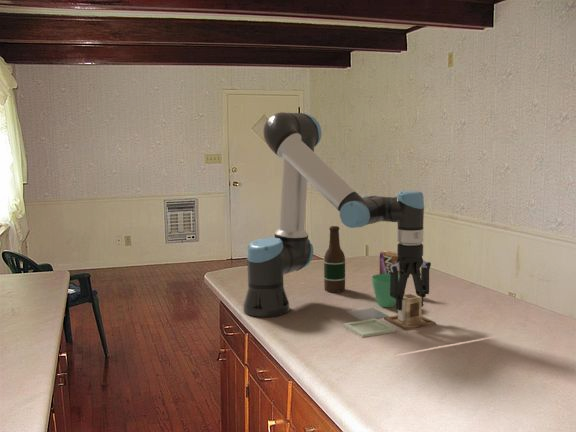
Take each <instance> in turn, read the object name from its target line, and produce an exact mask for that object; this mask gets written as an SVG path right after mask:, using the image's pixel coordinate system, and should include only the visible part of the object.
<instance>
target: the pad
mask: <svg viewBox="0 0 576 432" xmlns="http://www.w3.org/2000/svg"><path fill="white" fill-rule="evenodd" d="M345 312H346V313H347V314H349V315H350V316H351V317H354V318H356V320H358V321H362V320H369V319H375V318H376V319H378V320H379V319H384V317H388V316H389V315H388V314H386V313H384V312H382V311H380V310H378V309H376V308H375V307H370V308H364V309H357V310H351V311H345Z"/></svg>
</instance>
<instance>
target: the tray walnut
mask: <svg viewBox="0 0 576 432" xmlns="http://www.w3.org/2000/svg"><path fill="white" fill-rule="evenodd" d="M383 320H384V321H385V322H388V323H390V324H392V325H393V326H395V327H398V328H399V329H401V330H404V331H409V330H414V329H420V328H426V327H432V326H436V325H437V323H436V321H433V320H432V319H428V318H427V317H425V316H423V315H421V323H420V324H414V325H408V326H407V325H405V324H403V323H401V322H399V321H398V314H395V315H388V317H384V318H383Z"/></svg>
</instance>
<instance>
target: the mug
mask: <svg viewBox="0 0 576 432" xmlns="http://www.w3.org/2000/svg"><path fill="white" fill-rule="evenodd" d="M399 277H400V276H399V274H398V281H399ZM371 281H372V287H373V293H374V295H375V299H376V302H377V304H378V306H379V307H382V308H393V307H394V306H396V299H395V298H393V297H391V296H390V274H380V273H379V274H374V275H373V276H371Z"/></svg>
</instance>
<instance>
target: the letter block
mask: <svg viewBox="0 0 576 432" xmlns="http://www.w3.org/2000/svg"><path fill="white" fill-rule="evenodd" d="M403 299H404V300H405V321H401V320H399V319H398V321H399V322H401V323H403V324H405V325H407V326H408V325H414V324H420V323H421V316H422V309H423V307H422V297H420V296H417V294H416V293H415V294H414V293H412V292H411V293H405V294H404V296H403Z"/></svg>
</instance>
